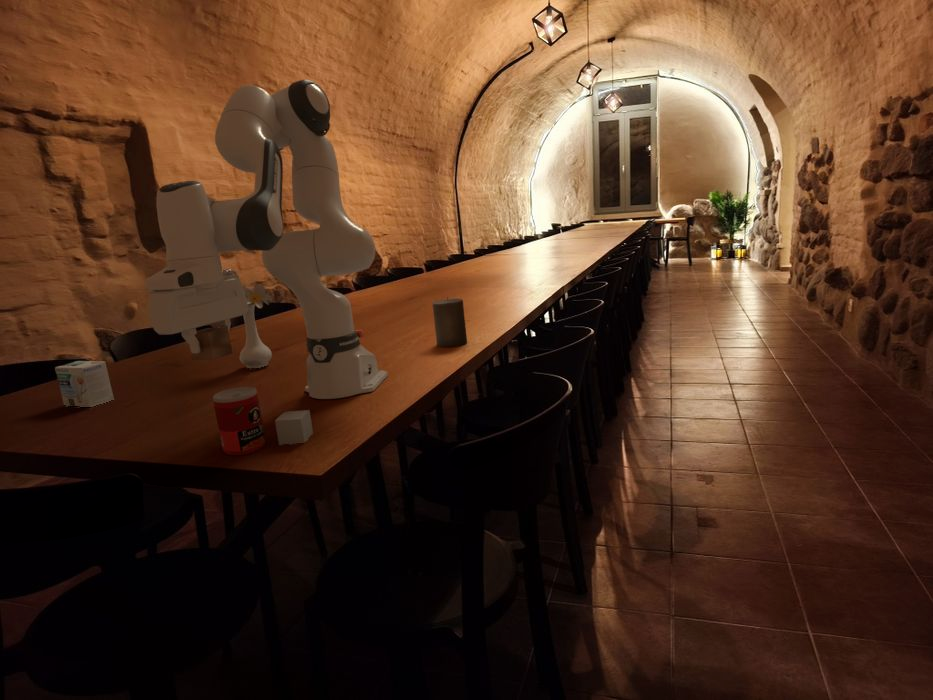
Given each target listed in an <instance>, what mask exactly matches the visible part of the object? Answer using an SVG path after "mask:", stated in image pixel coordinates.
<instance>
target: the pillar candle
mask: <svg viewBox="0 0 933 700" xmlns="http://www.w3.org/2000/svg"><path fill="white" fill-rule="evenodd" d="M432 312H433V322H434V329H435V330H434V331H435V338H436V340H435V341H436V345H437V347H440V348H451V347H458V346H459V347H460V346H463V345H465V344H467V343H468V339H467V338H468V337H467V328H466V319H465V308H464V299H462V298H449V297H448V296H447V297H446V299H441V300H435V301H433V302H432Z"/></svg>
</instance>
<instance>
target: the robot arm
mask: <svg viewBox="0 0 933 700" xmlns="http://www.w3.org/2000/svg"><path fill="white" fill-rule="evenodd" d="M330 120H331V105H330V101H329V98H328V95H327V94H326V93H325V91H324V90H323V89H322V87H321V86H320V85H318V84H317V83H316V82H314V81H313V80H311V79H301V80H297V81H294V82H292V83H291V84H290V85H289V86H286V87H285V88H282V89H280V90H278V91H277V92H275V93H273V94H269V92H268V91H266V89H263V88H262V87H259V86H256V85H252V84H251V85H250V84H248V85H247V84H245V85H243V86H240V87H238V88H237V89H236V90H235V91H234V92H233V93H232V95H230V98H229V99H228V101H227V103H226V105H225V106H224V108H223V110H222V112H221V114H220V118H219V120H218V122H217V126H216V129H215V136H214V142H215V146H216V149H217V151H218V153H219V154H220V156H221V157H222V158H223V160H225V162H227V163H228V164H229V165H231V166H232V167H233V168H235V169H237V170H240V171H242V172H245V173H252V174H254V175H255V179H254V191H253V192H252V193H251V194H250V195H248V196H244V197H242V198H236V199H227V200H226V199H225V200H216V199H215V198H212V197H210V196H209V195H208V194H207V193H206V190H205V187H204V185H203V183H202V182H200V181H196V180H187V181H178V182H173V183H167V184H164V185H163V186H161V187H159V188H158V189H157V192H156V212H157V221H158V226H159V231H160V236H161V238H162V240H163V242H164V245H165V249H166V254H165V260H166V265H167V266H165V267H164V268H162V269H161V270H159V271H157V272H155V273H154V274H152V275H151V276H149V277H147V278H146V279H145V282H144V284H145V288H146V290H147V291H149V292H150V294H149V297H148V300H147V301H148V309H149V310H148V311H149V316H150V323H151V325H152V329H153V331H155V333H157V334H158V335H159V336H163V335H164V336H165V335H166V336H169V335H174V334H180V333H181V337H182V338H183V339H184V341H186V343H187V344H188V346H189V345H190V348H189V351H190V350H191V353H200V352H203V351H204V347H203V342H199V341H198V340H197V338H196V337H195V334H197V332H196V331H197V328H201V327H204V326H209V325H212V324H215V323H216V327H217V326H218V328H225V327H228V331H229V332H230V329H231V325H232V324H231V319H234V318H238V317H242V316H243V315H246V314H247V312H248V303H247V299H246V295H245V292H244V289H243V284H242V282H241V280H240V275H239V274H238V273H237V272H235V270H233V269H232V268H228V269H227V268H226V269H223V266H222V261H221V255H220V253H225V252H226V253H231V252H240V251H261V258H262V264H263V266H264V268H265V269H266V271H267V272H268V273H269V274H270V275H271V276H272V277H273V278H275V279H276V280H279V281H280V282H282V283H283V284H284V285H285V286H287V288H289V289H290V291H291V292H292V293H293V295H294V296H295V297H296V299H297V300H298V303H299V305H300V308H301V310H302V311H301V312H302V315H303V319H304V324H305V330H306V333H307V334H306V335H307V336H306V338H305V341H306V344H305V345H306V349H307V353H309V355H308V356H307V358H306V374H307V376H306V379H307V385H306V386H305V387H304V391H305V392H307V393H308V394H309V397H311V398H312V399H313V398H314V399H318V400H334V399H342V398H348V397H352V396H355V395H358V394H359V395H360V394H364V393H365V394H366V393H370V392H374V391H376V389H377V388H378V386H379V385H380V384H381V383H383V381H384V380H385V379H386V378H387V377H388V375H389V374H388V371H386V370H383V369H378V361H377V359H376V358H377V357H376V356H375V354H373V353H372V352H370V351H369V350H367V348H365V347H364V346H362V345H361V342H360V338H361V339H362V338H364V330H363V329H355V327H354V326H355V325H354V319H353V311H352V305H351V301H350V300H349V298H348V297H346V296H345V295H344V294H343V293H340V292H338V291H336V290H333V289H330V288H328V287H326V285H325V284H324V283H323V281H322V278H323V277H331V276H332V277H333V276H342V275H343V276H344V275H352V274H354V273H359V272H362V271H366V270H368V269H370V268H371V266H372V264H373V262H374V261H375V258H376V245H375V241H374V238H373V237H372V235H371V234H370V233H369V231H368V230H366V229H365V228H363V227H362V226H360V225H358V224H356V223H355V222H354V221H353V220H352V219H351V218H350V217H349V216H348V214H347V212H346V210H345V209H344V207H343V202H342V197H341V187H340V186H341V185H340V175H339V173H340V171H339V166H338V165H339V164H338V161H337V157H336V156H337V155H336V152H335V149H334V145H333V144H332V142H331V141H330V139H328V137H326V136H325V135H327V134H328V133H329V131H330V128H331V127H330V126H331V123H330ZM286 147H288V148H289V149H290V152H291V157H292V161H291V187H292V189H291V191H292V205H293V208H294V210H295V212H297V214H298V215H299V216H300V217H302V218H303V219H305V220H307V221H309V222H313V223H315V224H317V225H319V227H318V228H313V229H303V230H293V231H292V230H291V231H286V232H284V230H285V229H284V228H285V227H284V225H285V224H284V217H283V210H282V205H283V204H282V203H283V202H282V201H283V179H284V178H283V177H284V174H283V173H284V171H283V170H284V167H283V158H282V154H281V151H282V150H283V149H285V148H286ZM191 353H190V354H191Z"/></svg>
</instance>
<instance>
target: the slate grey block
mask: <svg viewBox="0 0 933 700" xmlns="http://www.w3.org/2000/svg"><path fill="white" fill-rule="evenodd" d="M310 411H311V410H310V409H307V410H306V409H303V410H292V411H289V410H288V411H284V412H283V413H282V414H280V415H279V416H278V417H277V418H276V419H275V420H274V424H275V429H276V435H277V440H278V445H279V446H284V445H283V444H289V445H297V444H296V443H305V442H306V441H307V442H308V441H309V439H310V438H311V437H312V436H313V435H314V430H313V424H312V419H311V412H310ZM311 435H312V436H311ZM310 436H311V437H310ZM309 437H310V438H309ZM308 438H309V439H308ZM307 442H306V443H307ZM294 443H295V444H294ZM306 443H305V444H306Z"/></svg>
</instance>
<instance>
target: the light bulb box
mask: <svg viewBox="0 0 933 700" xmlns="http://www.w3.org/2000/svg"><path fill="white" fill-rule="evenodd" d="M54 371H55V373H56V374H55V375H56V378H57V381H58V385H59V388H60V389H59V390H60V393H61V398H62V403H63V405H66V406H65V407H68V406H80V407H93V406H96V405H99V404H102V405H104V404H103V403H105V404H107V403H106V402H108V403H110V402H109V401H111V400H114V401H115V398H114V393H113V389H112V386H111V385H112V384H111V382H110V380H111V379H110V377H109V372H108V368H107V364H106V361H103V360H101V361H100V360H99V361H97V360H96V361H94V360H89V361H88V360H76V361H73V362H69V363H66V364H62V365H59V366H55V367H54ZM111 402H112V401H111ZM99 406H100V405H99ZM80 407H79V408H80ZM96 407H97V406H96ZM93 408H94V407H93Z"/></svg>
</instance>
